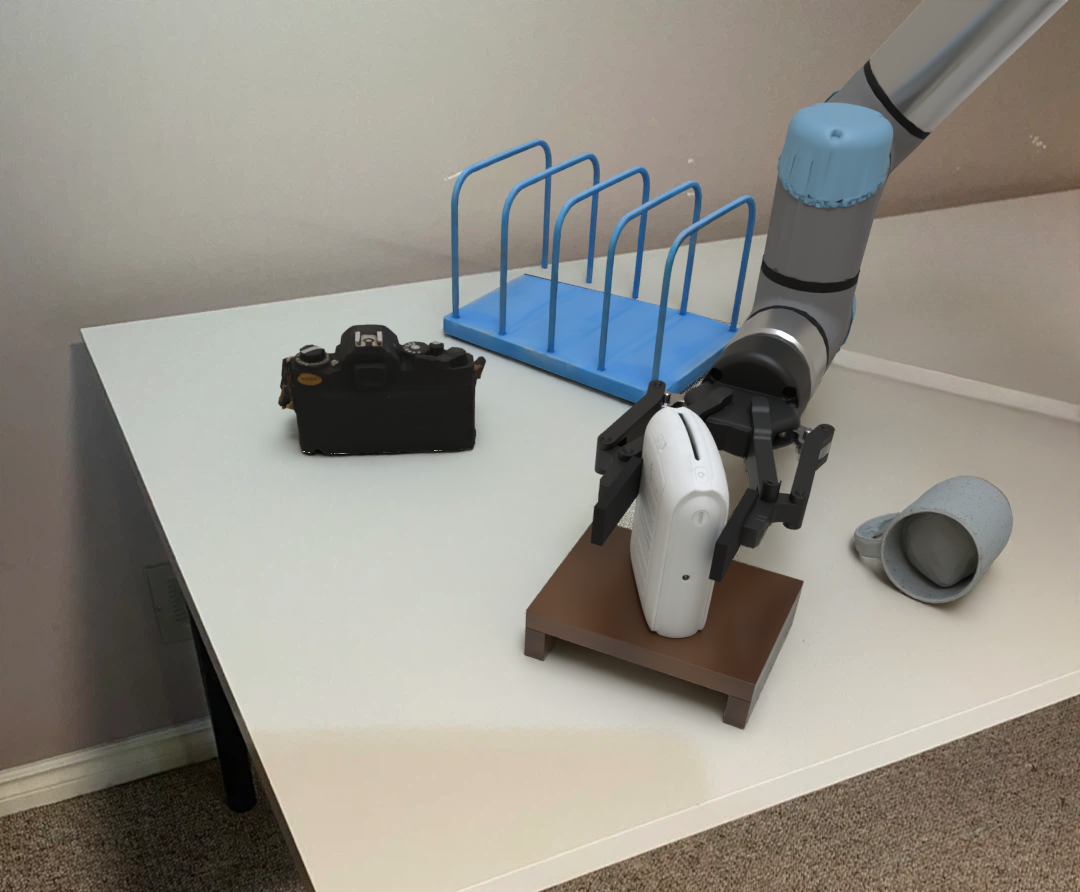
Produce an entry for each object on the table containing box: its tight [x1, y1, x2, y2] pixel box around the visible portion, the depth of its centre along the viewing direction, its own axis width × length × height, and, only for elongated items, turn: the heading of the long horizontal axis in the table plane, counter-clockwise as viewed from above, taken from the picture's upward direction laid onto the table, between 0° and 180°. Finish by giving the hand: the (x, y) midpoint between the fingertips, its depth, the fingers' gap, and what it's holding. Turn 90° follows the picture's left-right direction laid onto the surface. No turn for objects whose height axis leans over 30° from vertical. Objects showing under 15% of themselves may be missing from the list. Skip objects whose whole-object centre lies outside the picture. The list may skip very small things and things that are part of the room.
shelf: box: [523, 521, 805, 730], centre depth 75 cm, size 16×12×4 cm
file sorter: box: [442, 138, 757, 404], centre depth 103 cm, size 25×17×15 cm
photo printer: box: [630, 407, 730, 638], centre depth 69 cm, size 10×4×12 cm, turn 5°
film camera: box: [277, 323, 487, 455], centre depth 91 cm, size 18×12×10 cm
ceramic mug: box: [853, 475, 1014, 604], centre depth 81 cm, size 11×8×8 cm
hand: (657, 544), depth 65 cm, fingers closed on photo printer, 7 cm apart
